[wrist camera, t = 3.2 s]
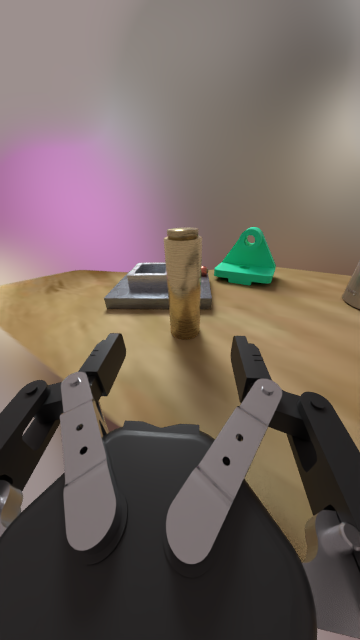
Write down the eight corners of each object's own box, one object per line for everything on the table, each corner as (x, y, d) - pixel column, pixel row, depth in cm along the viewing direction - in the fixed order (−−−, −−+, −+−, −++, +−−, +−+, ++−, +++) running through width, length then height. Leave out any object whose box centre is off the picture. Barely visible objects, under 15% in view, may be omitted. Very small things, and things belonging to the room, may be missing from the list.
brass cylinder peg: (199, 322, 27) (201, 226, 20) (199, 339, 24) (202, 231, 17) (172, 322, 27) (166, 227, 20) (169, 339, 24) (160, 232, 17)
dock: (206, 279, 42) (207, 259, 39) (211, 309, 30) (212, 283, 28) (131, 279, 43) (127, 260, 41) (106, 308, 32) (99, 284, 29)
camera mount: (212, 280, 42) (215, 231, 36) (222, 270, 47) (226, 226, 42) (269, 289, 37) (283, 233, 31) (273, 277, 42) (285, 227, 36)
